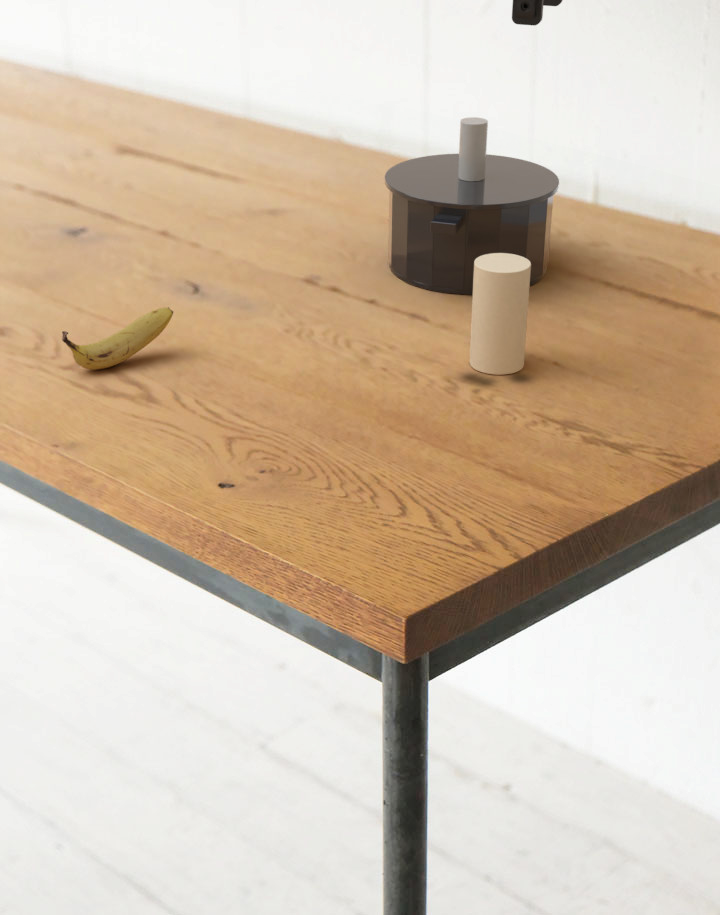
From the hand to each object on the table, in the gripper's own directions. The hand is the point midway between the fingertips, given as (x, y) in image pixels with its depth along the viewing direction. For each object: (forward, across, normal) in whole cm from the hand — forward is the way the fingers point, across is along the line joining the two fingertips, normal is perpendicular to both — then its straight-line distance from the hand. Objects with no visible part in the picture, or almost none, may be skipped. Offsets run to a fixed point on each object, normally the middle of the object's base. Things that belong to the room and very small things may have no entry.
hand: (537, 14), depth 106 cm
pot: (+28, +16, +8) cm, 33 cm away
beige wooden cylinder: (+28, -6, 0) cm, 28 cm away
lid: (+19, +16, +8) cm, 26 cm away
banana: (+28, -16, +30) cm, 44 cm away
